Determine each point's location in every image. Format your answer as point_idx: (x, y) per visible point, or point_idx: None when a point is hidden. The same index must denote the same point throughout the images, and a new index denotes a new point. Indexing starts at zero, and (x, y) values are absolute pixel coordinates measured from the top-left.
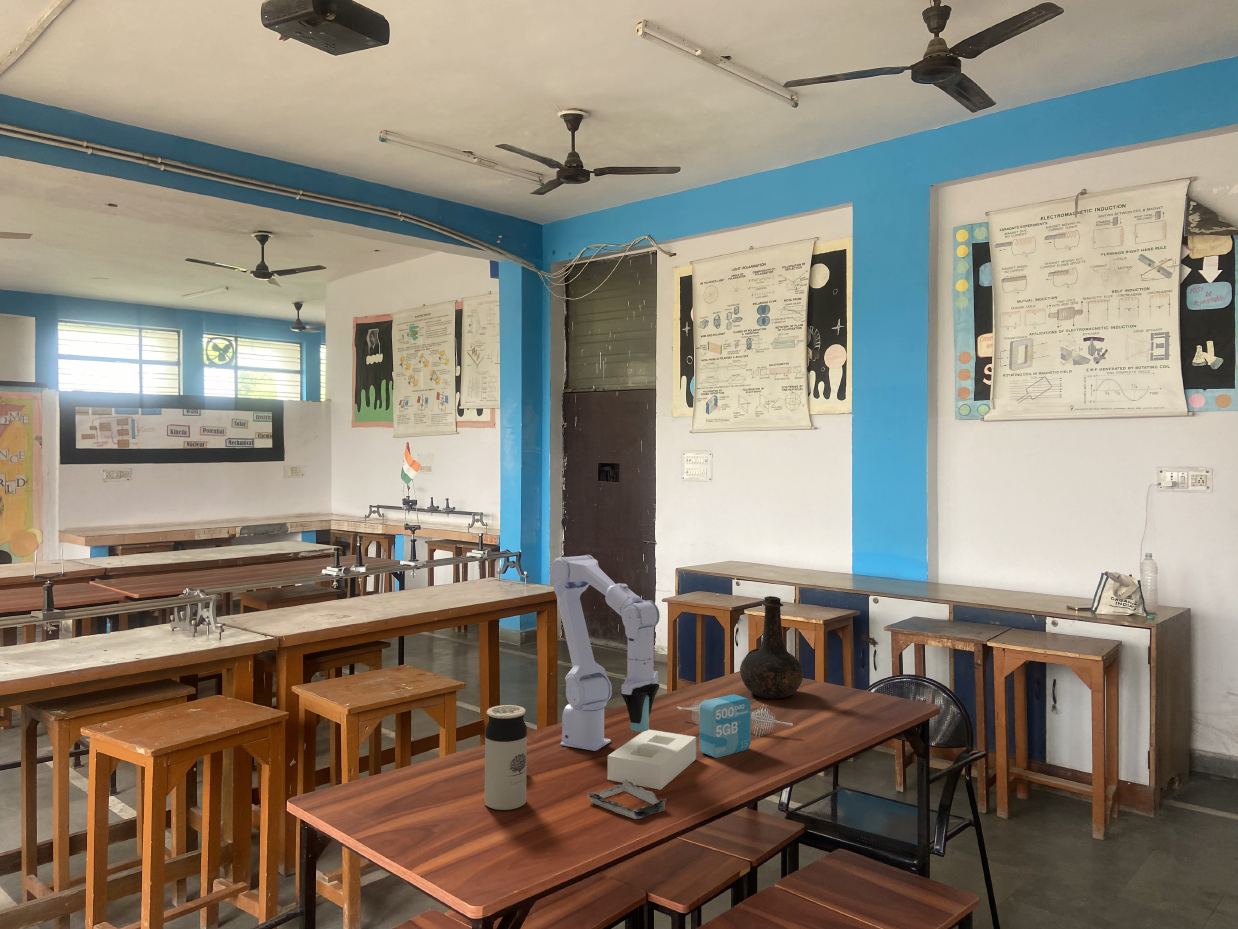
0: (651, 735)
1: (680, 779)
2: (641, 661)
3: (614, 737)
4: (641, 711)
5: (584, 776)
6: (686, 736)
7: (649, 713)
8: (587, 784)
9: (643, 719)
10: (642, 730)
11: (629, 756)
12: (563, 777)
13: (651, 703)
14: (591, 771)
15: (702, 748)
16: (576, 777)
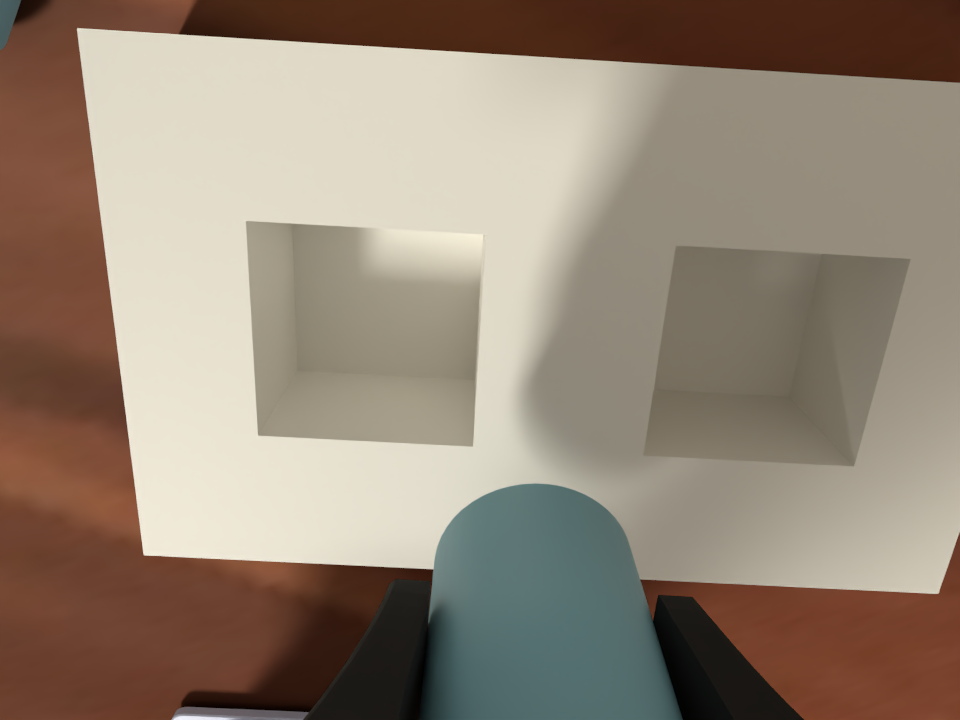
0: (288, 465)
1: (686, 7)
2: None
3: (82, 714)
4: (749, 696)
5: (823, 621)
6: (127, 140)
7: (417, 608)
8: (951, 562)
9: (628, 597)
10: (614, 523)
11: (918, 442)
12: (869, 706)
13: (382, 700)
14: (728, 618)
15: (7, 11)
16: (851, 651)
